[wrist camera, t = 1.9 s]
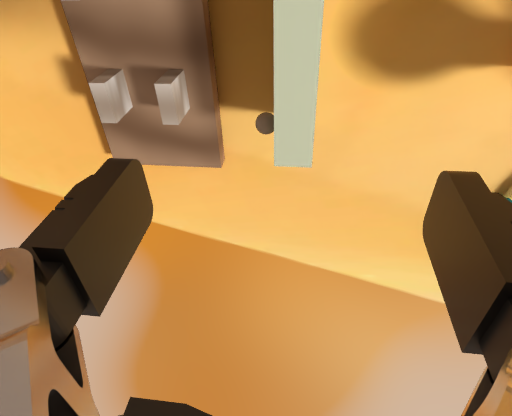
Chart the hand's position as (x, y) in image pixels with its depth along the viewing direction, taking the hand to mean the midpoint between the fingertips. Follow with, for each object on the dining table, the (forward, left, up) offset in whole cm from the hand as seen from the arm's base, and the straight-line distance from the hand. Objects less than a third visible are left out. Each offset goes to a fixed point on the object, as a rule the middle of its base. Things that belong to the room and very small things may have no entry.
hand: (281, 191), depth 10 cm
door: (0, 0, -20) cm, 20 cm away
